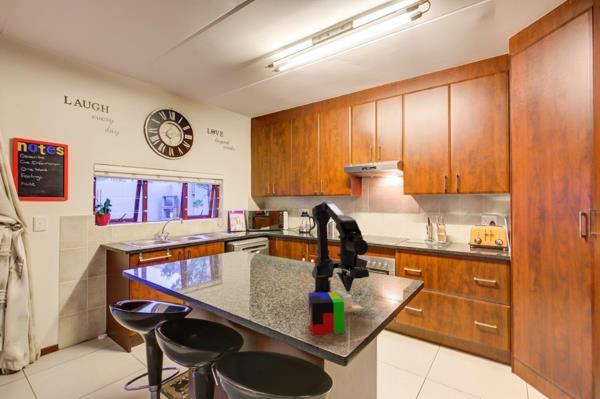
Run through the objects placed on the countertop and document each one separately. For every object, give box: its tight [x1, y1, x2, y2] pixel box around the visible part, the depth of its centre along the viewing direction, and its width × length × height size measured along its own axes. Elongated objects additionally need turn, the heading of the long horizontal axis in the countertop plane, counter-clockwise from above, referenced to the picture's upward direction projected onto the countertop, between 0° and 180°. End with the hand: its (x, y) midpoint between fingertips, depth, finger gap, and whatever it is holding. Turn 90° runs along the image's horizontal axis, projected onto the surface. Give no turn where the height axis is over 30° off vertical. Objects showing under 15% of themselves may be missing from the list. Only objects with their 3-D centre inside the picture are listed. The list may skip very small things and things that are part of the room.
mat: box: [344, 301, 366, 315], centre depth 113 cm, size 14×10×1 cm
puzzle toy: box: [308, 291, 346, 336], centre depth 94 cm, size 10×10×10 cm
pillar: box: [330, 289, 353, 308], centre depth 115 cm, size 4×4×9 cm
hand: (348, 291), depth 111 cm, fingers closed
